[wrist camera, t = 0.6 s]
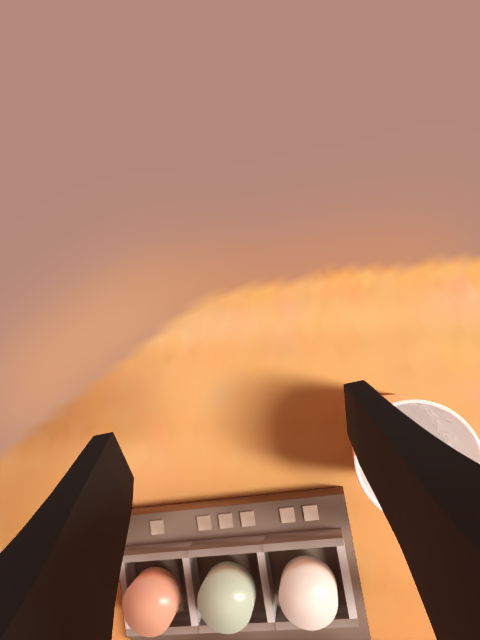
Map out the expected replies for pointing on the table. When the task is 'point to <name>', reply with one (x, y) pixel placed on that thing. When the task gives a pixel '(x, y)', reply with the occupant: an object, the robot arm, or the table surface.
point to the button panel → (248, 558)
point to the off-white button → (308, 593)
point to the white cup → (437, 423)
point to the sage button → (227, 597)
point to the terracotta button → (151, 602)
